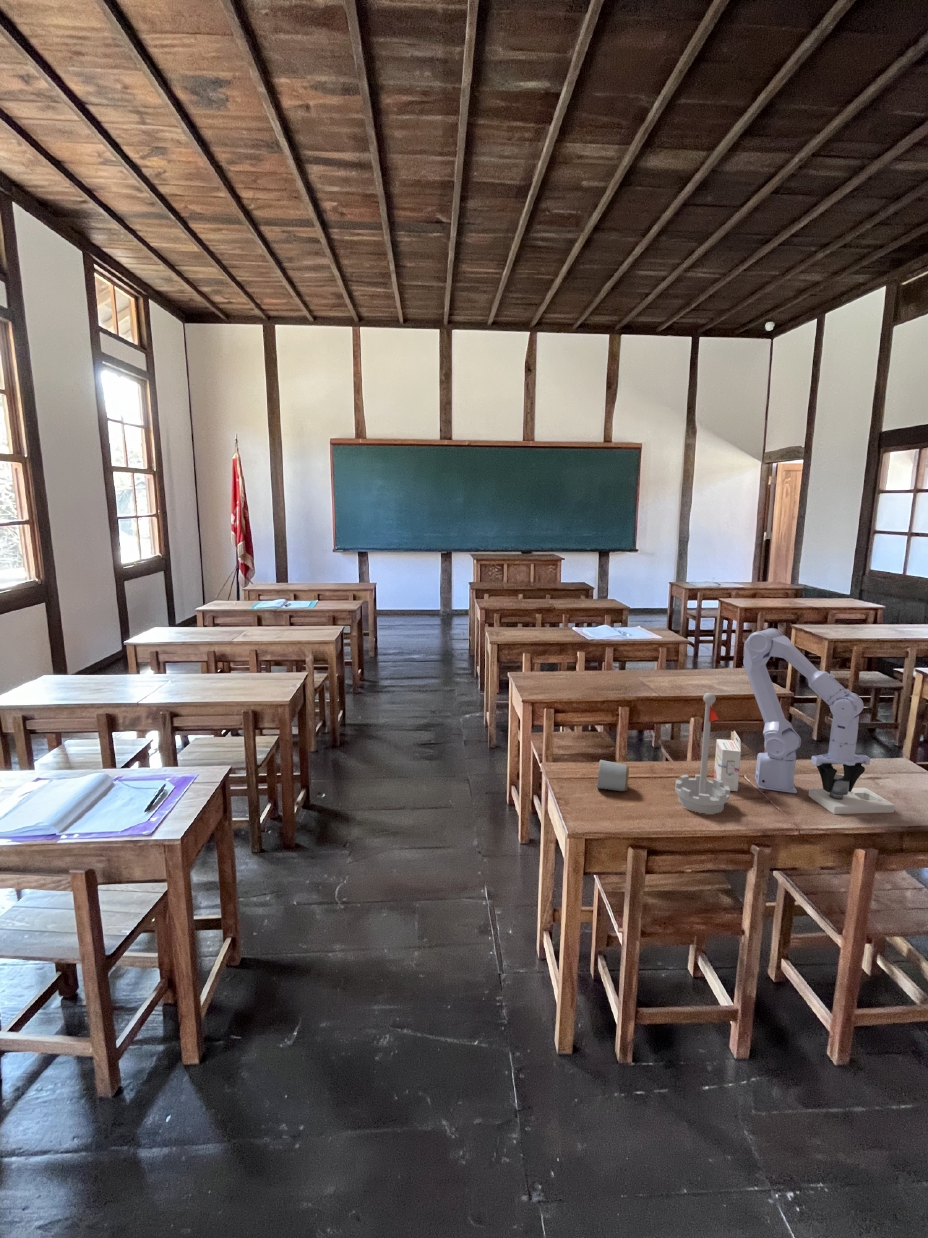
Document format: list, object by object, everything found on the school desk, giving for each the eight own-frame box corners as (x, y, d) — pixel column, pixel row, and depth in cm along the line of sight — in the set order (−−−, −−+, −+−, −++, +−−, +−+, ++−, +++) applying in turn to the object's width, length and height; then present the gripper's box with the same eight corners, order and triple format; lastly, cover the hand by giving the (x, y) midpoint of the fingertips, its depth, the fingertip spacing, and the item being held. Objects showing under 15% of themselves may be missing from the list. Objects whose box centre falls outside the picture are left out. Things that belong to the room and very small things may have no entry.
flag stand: (666, 793, 160) (673, 686, 155) (712, 792, 161) (721, 685, 156) (688, 817, 147) (697, 701, 142) (738, 815, 148) (748, 700, 143)
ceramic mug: (628, 796, 158) (629, 769, 157) (596, 792, 160) (598, 765, 159) (627, 780, 168) (628, 754, 167) (597, 777, 170) (599, 751, 169)
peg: (827, 799, 153) (829, 780, 152) (822, 791, 157) (825, 772, 157) (849, 803, 151) (852, 783, 150) (844, 794, 156) (846, 775, 155)
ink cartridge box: (712, 777, 170) (716, 728, 168) (730, 778, 170) (735, 729, 167) (718, 790, 162) (723, 739, 160) (738, 792, 161) (743, 740, 159)
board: (833, 814, 149) (834, 806, 149) (808, 796, 159) (809, 789, 159) (893, 812, 151) (894, 805, 150) (864, 794, 160) (865, 787, 160)
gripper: (826, 747, 147) (820, 798, 149) (881, 746, 148) (875, 796, 151) (808, 736, 154) (802, 785, 156) (861, 735, 155) (855, 784, 157)
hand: (837, 790), depth 154 cm, fingers closed on peg, 5 cm apart
